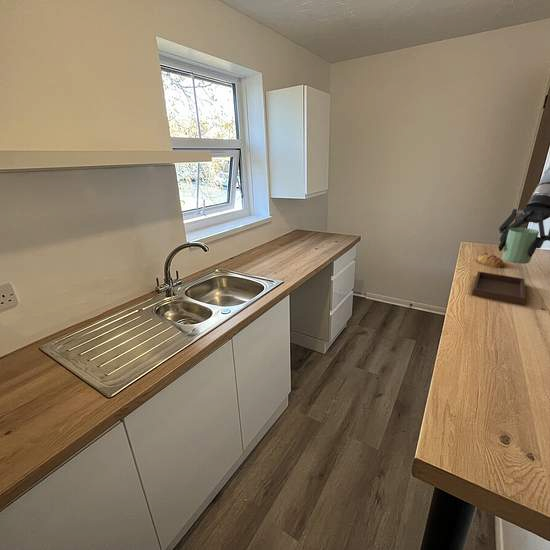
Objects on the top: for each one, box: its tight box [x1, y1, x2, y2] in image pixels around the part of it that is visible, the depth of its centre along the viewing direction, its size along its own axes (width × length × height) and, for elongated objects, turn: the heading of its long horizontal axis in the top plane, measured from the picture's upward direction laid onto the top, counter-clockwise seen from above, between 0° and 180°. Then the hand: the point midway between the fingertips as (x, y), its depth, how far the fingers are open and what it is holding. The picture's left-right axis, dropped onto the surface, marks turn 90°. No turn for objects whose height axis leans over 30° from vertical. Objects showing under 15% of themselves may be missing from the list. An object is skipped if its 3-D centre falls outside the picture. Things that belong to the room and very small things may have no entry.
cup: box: [501, 227, 540, 265], centre depth 108 cm, size 8×8×11 cm
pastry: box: [476, 252, 505, 268], centre depth 124 cm, size 9×7×4 cm
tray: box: [471, 271, 527, 306], centre depth 102 cm, size 18×14×3 cm
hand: (514, 251), depth 106 cm, fingers closed on cup, 8 cm apart
